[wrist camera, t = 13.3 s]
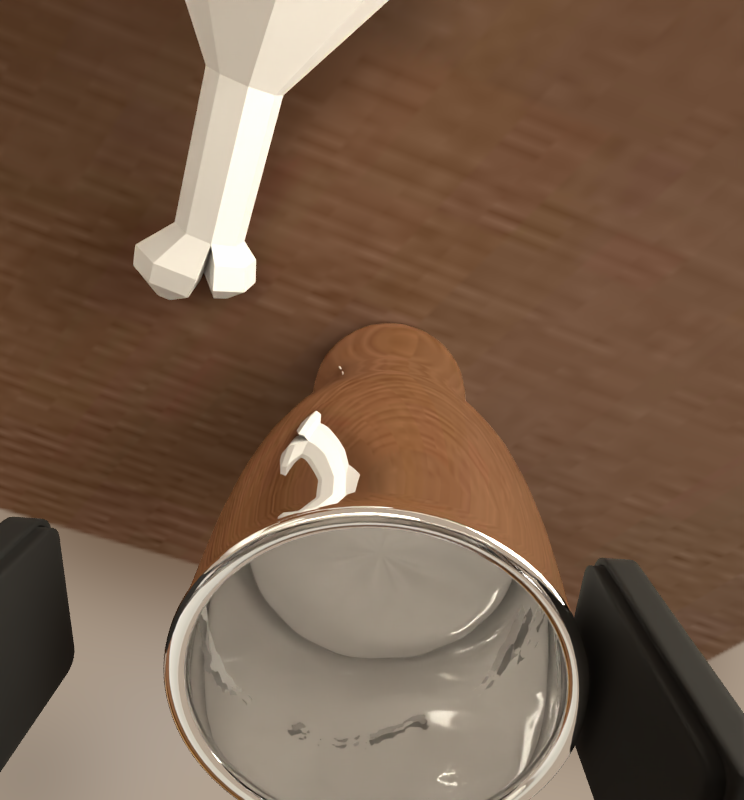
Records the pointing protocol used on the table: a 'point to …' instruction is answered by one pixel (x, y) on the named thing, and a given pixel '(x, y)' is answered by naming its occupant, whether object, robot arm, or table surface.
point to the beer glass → (379, 601)
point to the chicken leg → (238, 132)
